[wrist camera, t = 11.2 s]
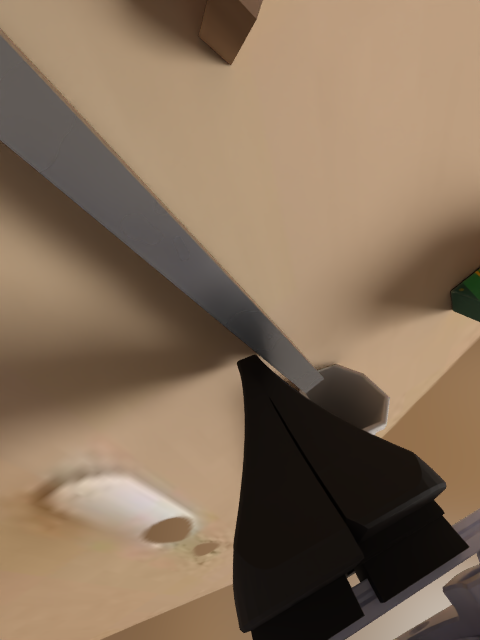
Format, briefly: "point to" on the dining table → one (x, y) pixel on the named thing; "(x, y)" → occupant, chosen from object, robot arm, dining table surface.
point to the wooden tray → (228, 25)
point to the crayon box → (467, 297)
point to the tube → (351, 398)
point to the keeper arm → (129, 207)
